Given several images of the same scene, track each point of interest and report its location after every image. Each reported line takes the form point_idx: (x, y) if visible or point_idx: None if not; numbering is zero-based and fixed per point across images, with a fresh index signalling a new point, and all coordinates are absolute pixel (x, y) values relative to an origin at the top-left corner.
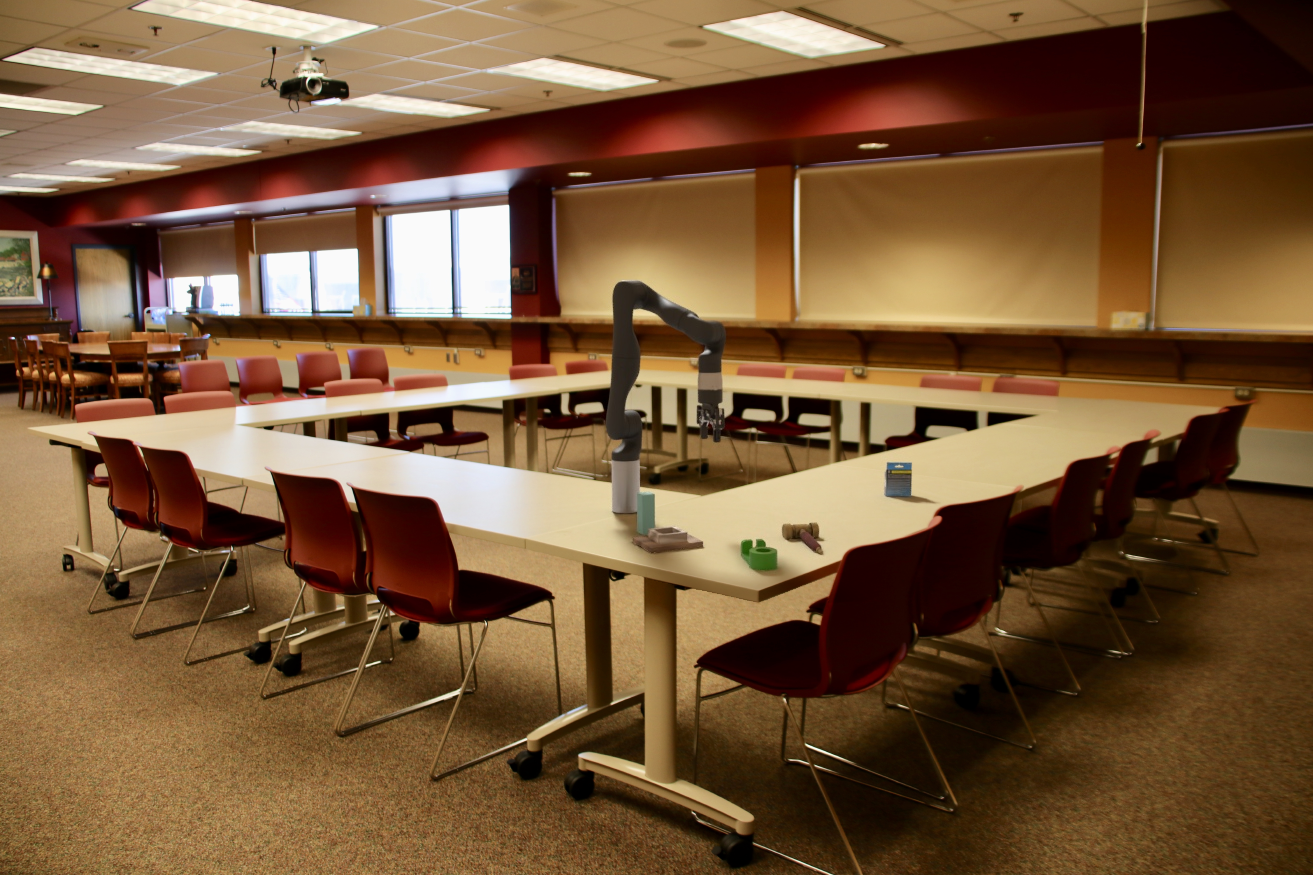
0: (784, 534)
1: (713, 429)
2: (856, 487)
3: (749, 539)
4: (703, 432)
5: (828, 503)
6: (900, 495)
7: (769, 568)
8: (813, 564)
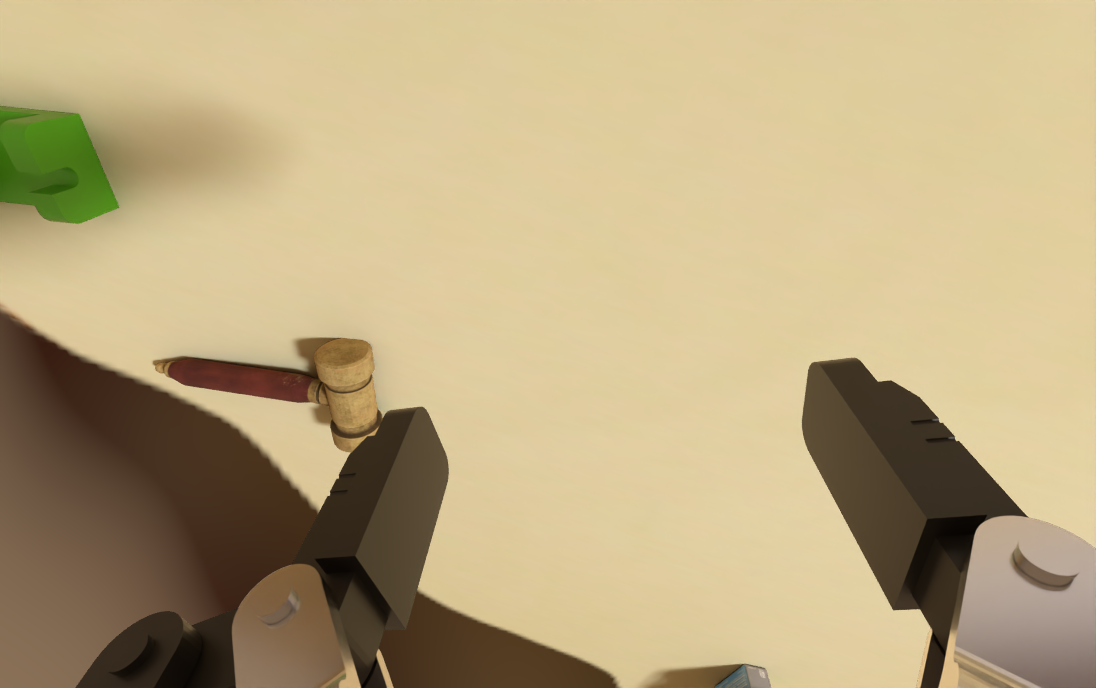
0: (337, 345)
1: (313, 572)
2: (875, 662)
3: (38, 166)
4: (858, 459)
5: (741, 568)
6: (726, 680)
7: None
8: (37, 307)
